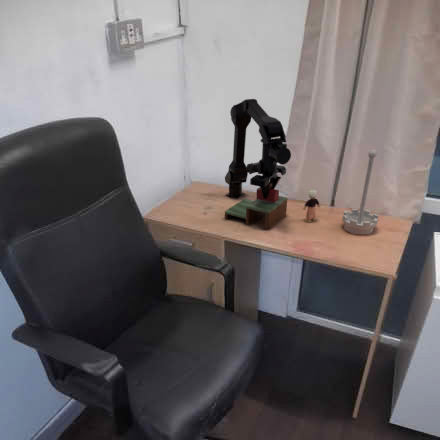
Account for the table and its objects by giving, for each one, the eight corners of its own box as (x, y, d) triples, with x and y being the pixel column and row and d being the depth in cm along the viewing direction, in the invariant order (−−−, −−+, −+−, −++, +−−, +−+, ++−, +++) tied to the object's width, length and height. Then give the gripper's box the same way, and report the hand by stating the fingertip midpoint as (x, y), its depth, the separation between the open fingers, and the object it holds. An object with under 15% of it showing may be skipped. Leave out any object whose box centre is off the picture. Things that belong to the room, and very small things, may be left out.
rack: (244, 206, 182) (244, 188, 177) (286, 216, 173) (287, 197, 168) (224, 219, 171) (224, 200, 166) (268, 230, 162) (269, 211, 157)
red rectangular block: (260, 196, 168) (261, 186, 165) (278, 199, 164) (279, 190, 162) (256, 198, 165) (256, 189, 163) (274, 202, 161) (275, 193, 159)
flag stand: (375, 237, 156) (393, 156, 139) (340, 233, 159) (353, 153, 142) (375, 223, 166) (392, 146, 149) (342, 219, 169) (354, 143, 152)
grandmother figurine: (312, 216, 172) (316, 186, 165) (319, 219, 169) (323, 189, 162) (299, 221, 168) (302, 190, 161) (306, 224, 166) (309, 193, 159)
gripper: (262, 147, 165) (260, 186, 174) (238, 160, 152) (237, 200, 161) (288, 151, 160) (284, 191, 169) (265, 164, 147) (263, 206, 156)
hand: (267, 196), depth 164 cm, fingers closed on red rectangular block, 3 cm apart
